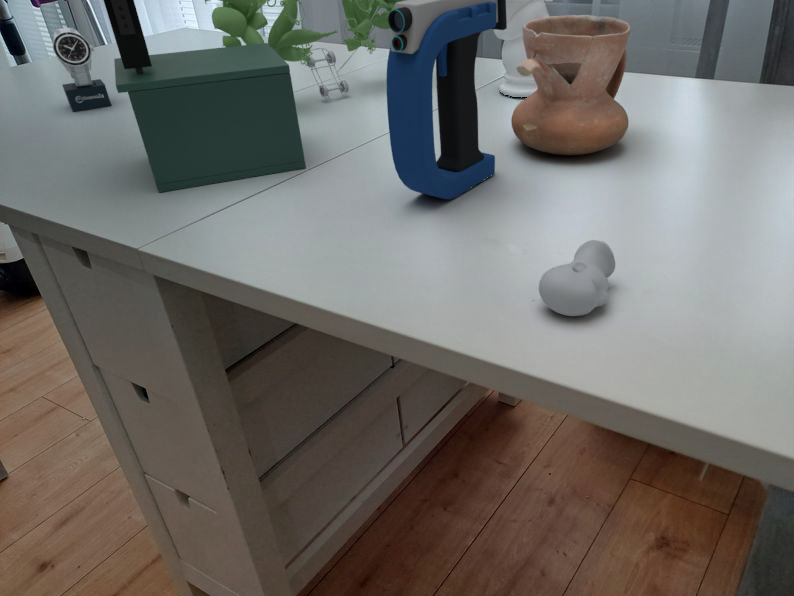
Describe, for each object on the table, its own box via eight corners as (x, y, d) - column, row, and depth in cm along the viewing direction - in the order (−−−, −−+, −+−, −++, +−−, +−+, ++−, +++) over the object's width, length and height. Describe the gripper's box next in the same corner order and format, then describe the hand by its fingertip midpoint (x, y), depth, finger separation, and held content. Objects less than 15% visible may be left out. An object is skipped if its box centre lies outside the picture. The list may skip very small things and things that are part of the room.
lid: (118, 93, 68) (89, 2, 63) (116, 65, 78) (91, -15, 73) (290, 72, 73) (276, -12, 68) (268, 49, 83) (254, -26, 78)
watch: (74, 114, 100) (46, 35, 93) (68, 102, 105) (40, 27, 99) (114, 108, 102) (89, 30, 96) (105, 96, 108) (81, 22, 101)
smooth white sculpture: (572, 341, 51) (522, 304, 53) (624, 297, 56) (577, 264, 58) (591, 302, 48) (537, 264, 50) (644, 259, 53) (593, 225, 55)
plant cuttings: (217, 154, 104) (248, 87, 85) (169, 52, 103) (189, -40, 84) (398, 109, 122) (456, 45, 103) (359, 21, 121) (411, -61, 102)
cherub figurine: (568, 88, 106) (579, -73, 93) (538, 109, 97) (546, -66, 84) (500, 81, 111) (501, -74, 98) (465, 100, 102) (462, -68, 89)
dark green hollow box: (158, 192, 74) (127, 92, 68) (152, 156, 84) (124, 65, 78) (306, 168, 80) (290, 73, 73) (284, 136, 90) (268, 50, 83)
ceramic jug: (560, 178, 76) (570, 44, 67) (480, 146, 85) (479, 24, 77) (660, 143, 85) (679, 21, 76) (578, 117, 94) (587, 6, 85)
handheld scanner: (509, 168, 78) (510, -21, 67) (428, 217, 68) (412, 3, 56) (477, 161, 80) (472, -22, 69) (394, 208, 70) (371, 0, 58)
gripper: (101, -228, 53) (180, 75, 67) (102, -205, 67) (167, 41, 81) (-5, -230, 51) (99, 84, 64) (19, -206, 65) (100, 47, 78)
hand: (136, 60), depth 72 cm, fingers closed on lid, 6 cm apart
